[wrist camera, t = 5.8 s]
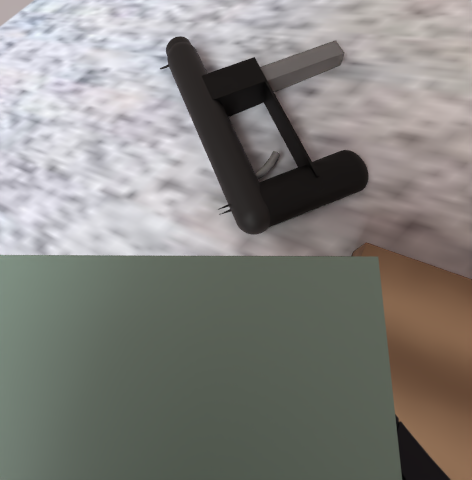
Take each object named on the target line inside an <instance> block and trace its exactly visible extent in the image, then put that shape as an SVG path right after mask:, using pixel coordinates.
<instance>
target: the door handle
mask: <svg viewBox="0 0 472 480" xmlns="http://www.w3.org/2000/svg"><path fill="white" fill-rule="evenodd" d="M166 53H167V56H168V65H167V66H164V67H162V68H160V69H164V68H167V67H170V70H171V72H172V74H173V77H174V79H175V81H176V84H177V86H178V88H179V91H180V93H181V95H182V98H183V100H184V102H185V105H186V107H187V109H188V111H189V115H190V117H191V118H192V121H193V123H194V125H195V128H196V130H197V132H198V135H199V137H200V139H201V142H202V144H203V146H204V149H205V151H206V153H207V156H208V158H209V160H210V162H211V165H212V167H213V169H214V172H215V174H216V176H217V179H218V181H219V183H220V186H221V188H222V190H223V193H224V195H225V197H226V200H227V202H228V205H226V206H224V207H222V208H225V207H228V206H229V207H230V210H228V211H226V212H224V213H227V212H230V211H232V214H233V216H234V218H235V220H236V223H237V225H238V226H239V228H240V229H241V230H243V231H244V232H246V233H248V234H259V233H262V232H264V231H265V230H266V229H268V227H271V226H273V225H276V224H278V223H281V222H283V221H286V220H288V219H291V218H293V217H296V216H298V215H301V214H303V213H306V212H309V211H311V210H314V209H316V208H319V207H321V206H324V205H326V204H329V203H331V202H334V201H336V200H339V199H341V198H344V197H346V196H349V195H351V194H354V193H356V192H359V191H361V190H363V189H364V188H365V187H366V185H367V182H368V170H367V167H366V165H365V163H364V161H363V160H362V159H361V158H360V157H359V156H358V155H357V154H356V153H354V152H352V151H349V150H343V151H340V152H337V153H335V154H332V155H329V156H327V157H324V158H322V159H319V160H316V161H314V162H312V161H311V159H310V158H309V156H308V154H307V152H306V150H305V149H304V147H303V145H302V143H301V141H300V139H299V138H298V136H297V134H296V132H295V130H294V129H293V127H292V125H291V123H290V121H289V119H288V118H287V116H286V114H285V112H284V110H283V109H282V107H281V105H280V103H279V101H278V99H277V98H276V96H275V94H274V92H275V91H278V90H281V89H284V88H286V87H289V86H291V85H294V84H296V83H299V82H301V81H303V80H306V79H308V78H311V77H313V76H315V75H318V74H320V73H323V72H325V71H328V70H330V69H332V68H335V67H337V66H340V64H341V61H342V58H343V55H344V52H343V50H342V49H341V47H340V46H339V44H338V43H337V41H333V42H330V43H327V44H324V45H322V46H319V47H316V48H313V49H310V50H307V51H305V52H302V53H299V54H296V55H293V56H290V57H288V58H285V59H282V60H279V61H276V62H273V63H271V64H268V65H265V66H262V67H260V66H259V65H258V63H257V61H256V59H255V57H254V58H251V59H248V60H245V61H242V62H239V63H237V64H234V65H231V66H228V67H225V68H222V69H220V70H217V71H214V72H211V73H208V74H207V72H206V70H205V68H204V65H203V63H202V61H201V59H200V57H199V55H198V53H197V51H196V49H195V48H194V47H193V46H192V45H191V43H190V42H189V40H188V39H187V38H185V37H175V38H173V39H172V40H171V41H170V42H169V43H168V45H167V47H166ZM263 102H264V104H265V105H266V107H267V109H268V111H269V113H270V115H271V117H272V119H273V120H274V122H275V124H276V126H277V128H278V130H279V132H280V134H281V136H282V137H283V139H284V141H285V143H286V145H287V147H288V149H289V151H290V152H291V154H292V156H293V158H294V160H295V162H296V164H297V166H298V168H296V169H293V170H290V171H288V172H285V173H283V174H280V175H277V176H275V177H272V178H270V179H267V180H264V181H262V182H259V181H258V179H259V178H261V177H262V176H264V175H265V174H266V173H267V172H268V171H269V170H270V169H271V168H272V167H273V166H274V164H275V163H276V161H277V160H278V158H279V156H280V154H279V153H278V152H276V151H274V152H273V153H272V155H271V156H270V158H269V159H268V161H267V162H266V163H265V165H264V166H263V167H262V168H261V169H260V170H259V171H257V172H256V173H255V172H254V170H253V168H252V166H251V164H250V162H249V160H248V158H247V156H246V153H245V151H244V149H243V147H242V145H241V143H240V141H239V139H238V137H237V135H236V132H235V130H234V128H233V126H232V124H231V122H230V120H229V118H228V117H229V116H232V115H234V114H237V113H239V112H241V111H244V110H246V109H249V108H251V107H254V106H256V105H258V104H261V103H263ZM222 208H220V209H222ZM222 214H223V213H222ZM219 215H220V214H219Z"/></svg>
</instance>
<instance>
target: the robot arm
mask: <svg viewBox="0 0 472 480" xmlns="http://www.w3.org/2000/svg"><path fill="white" fill-rule="evenodd" d="M395 418H396V427H397V436H398V446H399V455H400V464H401V474H402V480H451V479H450V478H449V477H448V476H447V475H446V474H445V472H444V471H443V470H442V469H441V468H440V467H439V466H438V465H437V464H436V463H435V461H434V460H433V459H432V458H431V457H430V456H429V454H428V453H427V452H426V451H425V450H424V448H423V447H422V446H421V445H420V444H419V443H418V441H417V440H416V439H415V438H414V437H413V435H412V434H411V433H410V432H409V430H408V429H407V428H406V427H405V425H404V424H403V423H402V422H401V421H399V418H398V417H397V415H396V414H395Z"/></svg>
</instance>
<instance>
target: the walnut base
mask: <svg viewBox="0 0 472 480" xmlns="http://www.w3.org/2000/svg"><path fill="white" fill-rule="evenodd" d="M352 256H359V257H378V259H379V269H380V278H381V287H382V297H383V306H384V315H385V324H386V334H387V343H388V352H389V362H390V371H391V380H392V390H393V399H394V408H395V414H396V415H397V417H398V418H399V421H401V422H402V423H403V424H404V425H405V427H406V428H407V429H408V430H409V432H410V433H411V434H412V435H413V437H414V438H415V439H416V440H417V441H418V443H419V444H420V445H421V446H422V447H423V448H424V450H425V451H426V452H427V453H428V454H429V456H430V457H431V458H432V459H433V460H434V461H435V463H436V464H437V465H438V466H439V467H440V468H441V469H442V470H443V471H444V472H445V474H446V475H447V476H448V477H449V478H450V479H451V480H472V279H469V278H466V277H464V276H461V275H458V274H455V273H452V272H449V271H446V270H443V269H441V268H438V267H435V266H432V265H429V264H426V263H423V262H421V261H418V260H415V259H412V258H409V257H406V256H403V255H401V254H398V253H395V252H392V251H389V250H386V249H383V248H380V247H378V246H375V245H372V244H369V243H365V244H363V245H362V246H361V247H359V248H358V249H357V250H355V251H354V252H353V254H352Z"/></svg>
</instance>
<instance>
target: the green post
mask: <svg viewBox="0 0 472 480" xmlns="http://www.w3.org/2000/svg"><path fill="white" fill-rule="evenodd" d="M0 480H402V474H401V464H400V455H399V446H398V436H397V427H396V418H395V408H394V399H393V390H392V380H391V371H390V362H389V352H388V343H387V334H386V324H385V315H384V306H383V297H382V287H381V278H380V269H379V259H378V257H359V256H94V255H0Z"/></svg>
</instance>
